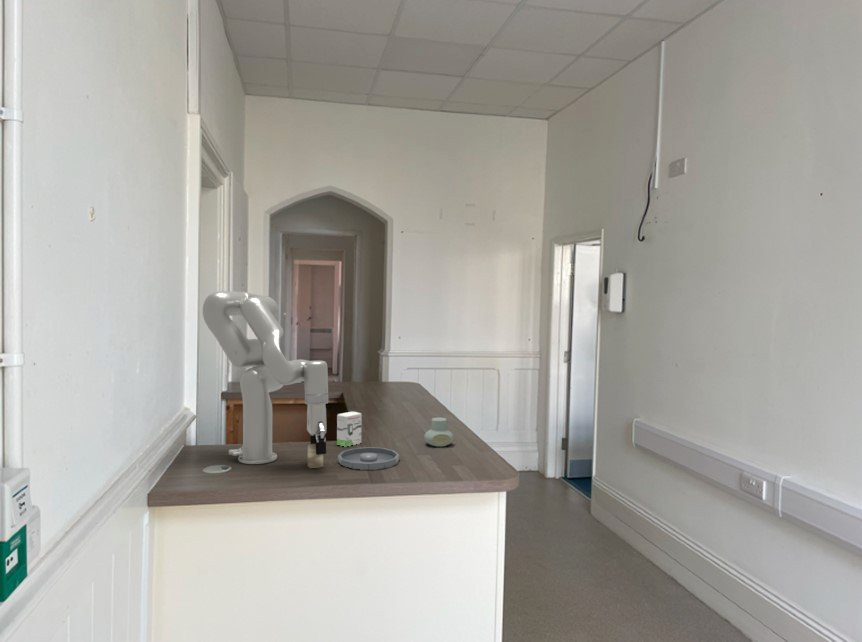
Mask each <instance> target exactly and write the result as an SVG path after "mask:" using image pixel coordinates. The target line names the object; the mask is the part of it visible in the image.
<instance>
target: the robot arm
mask: <svg viewBox="0 0 862 642" xmlns="http://www.w3.org/2000/svg"><path fill="white" fill-rule="evenodd" d="M202 304H203V305H202V317H203V320H204V322H205V324H206V326H207V328H208V329H209V331H210V332H211V333H212V334H213V336H214V337H215V339H216V341H217V342H218V344H219V346H220V348H221V349H222V351H223V353H224V354H225V355H226V357H227V359H228V360H229V362H230V363H231V365H233V367H235V368H237V369H246V368H248V369H246V370H245V371H244V372H243V373H242V374H241V377H240V381H239V387H240V392H241V396H242V415H243V416H242V421H243V422H242V428H243V429H242V443H243V444H242V445H241V447H238V448H236V449H235V448H232V449H228V456H232V457H237V456H238V458H237V460H238V462H239V463H242V464H245V465H261V464H269V463H271V462H274V461H276V460H277V459H278V454H277V453H275V452H273V403H272V399H271V397H270V393H273V392H275V391H278V390H280V389H281V388H283V386H289V385H294V384H297V383H302V382H303V383H304V404H305V405H307V407H306V408H307V410H306V431H307V432H308V433H309V435H310V441H309V442H310V444H314V443H316V454H317V455H321V454H323V455H326V454H327V439H326V434H327V408H326V404H328V403H329V374H328V373H329V372H328V363H327V362H326V361H324V360H307V359H299V358H298V359H293V360H288V359H286V357H285V355H284V354H283V352H282V350H281V348H280V339H282V337H283V335H284V328H283V327H282V326H281V324H280V323H279V322H278V320H277V319H276V317H277V316H278V315H279V306H278V304H277V302H276V301H275V300H274V298H272V297H270V296H265V295H261V294H260V295H259V294H257V293H256V294H255V293H251V292H246V291H237V290H236V291H234V290H232V291H231V290H230V291H229V290H221V291H220V290H219V291H215V292H212V293H210V294H208V295H207V297H206V298H205V300H204V302H203V303H202ZM233 316H241V317H243V318H244V320H245V322H246V323H247V325H248V326H249V327H250V329H251V331H252V332H253V334H254V335H255V336H256V338H252V339H251V338H250V339H249V338H247V336H246V335H245V334H244V332H243V331H242V329H241V327H240V326H239V325H238V324H237V323H236V322H235V321H234V320H233V319H231V317H233Z"/></svg>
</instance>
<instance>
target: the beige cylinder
mask: <svg viewBox="0 0 862 642" xmlns="http://www.w3.org/2000/svg"><path fill="white" fill-rule="evenodd" d="M321 466H323V467H324V454H321V455H317V454H316V443H314V444H311V443H310V444H308V445H307V468H308V467H313V468H314V467H321Z"/></svg>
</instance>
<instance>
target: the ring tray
mask: <svg viewBox="0 0 862 642" xmlns="http://www.w3.org/2000/svg"><path fill="white" fill-rule="evenodd" d="M399 461H400V454H399V453H398V452H397V451H396V450H393V449H390V448H385V447H374V446H373V447H372V446H371V447H370V446H368V447H367V446H365V447H353V448H351V449H346V450H343V451H341V452H340V453H339V454H338V455H337V462H338V464H339V463H340V464H341V465H343V466H346V467H349V468H353V469H352V470H355V469H360V470H359V471H378V469H379V470H385V469H389V468H391V467H394V466H396V465H398V463H399ZM340 464H339V465H340ZM341 465H340V466H341ZM343 466H342V467H343ZM346 467H345V468H346ZM349 468H348V469H349Z"/></svg>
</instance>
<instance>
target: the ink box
mask: <svg viewBox="0 0 862 642" xmlns="http://www.w3.org/2000/svg"><path fill="white" fill-rule="evenodd" d="M362 414H363V413H361V412H358V411H348V412H342V413H337V415H336V424H337V425H336V446H337V445H340V446H339V447H342V446H344V447H343V448H348V447H347V446H349V447H352V446H351V445H353V446H357V445H361V444H362V423H363V422H362V421H363V420H362V417H363V415H362ZM360 443H361V444H360ZM356 444H357V445H356Z"/></svg>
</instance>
